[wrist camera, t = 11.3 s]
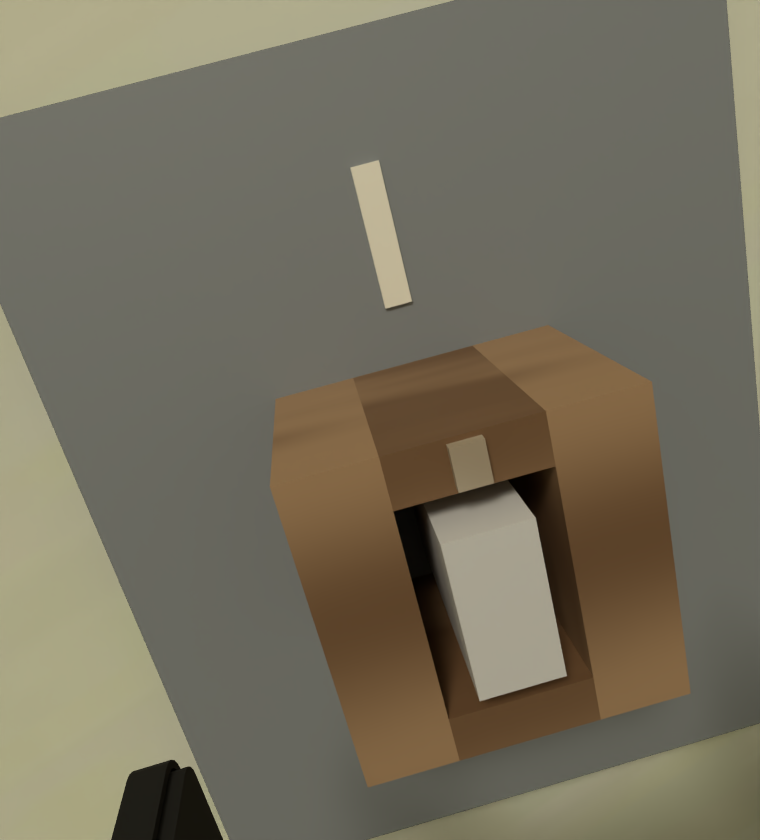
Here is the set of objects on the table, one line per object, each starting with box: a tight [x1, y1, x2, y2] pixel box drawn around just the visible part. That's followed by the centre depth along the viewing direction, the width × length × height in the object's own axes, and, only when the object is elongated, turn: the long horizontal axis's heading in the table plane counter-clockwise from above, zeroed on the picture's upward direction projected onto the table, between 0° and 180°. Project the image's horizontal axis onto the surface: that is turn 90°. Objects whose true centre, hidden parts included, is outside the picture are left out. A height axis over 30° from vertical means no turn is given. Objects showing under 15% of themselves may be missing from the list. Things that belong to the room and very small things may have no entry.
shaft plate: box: [0, 0, 760, 840], centre depth 16 cm, size 20×16×7 cm
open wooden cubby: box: [270, 325, 691, 787], centre depth 15 cm, size 6×6×5 cm
